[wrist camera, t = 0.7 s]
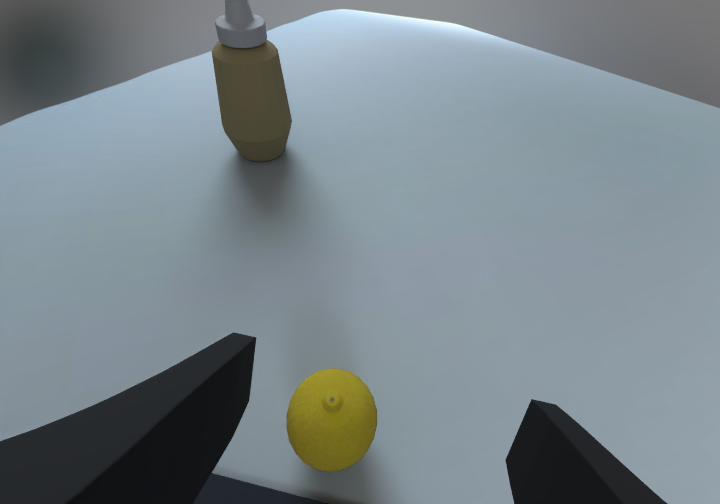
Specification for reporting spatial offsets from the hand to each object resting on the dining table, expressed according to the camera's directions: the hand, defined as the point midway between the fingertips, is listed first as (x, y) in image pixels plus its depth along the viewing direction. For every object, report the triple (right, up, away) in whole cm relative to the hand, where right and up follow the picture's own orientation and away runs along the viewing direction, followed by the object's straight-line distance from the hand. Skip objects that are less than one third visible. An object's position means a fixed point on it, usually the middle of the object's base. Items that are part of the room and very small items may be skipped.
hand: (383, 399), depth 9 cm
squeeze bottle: (-13, +17, +36) cm, 42 cm away
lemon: (-3, -9, +16) cm, 18 cm away
